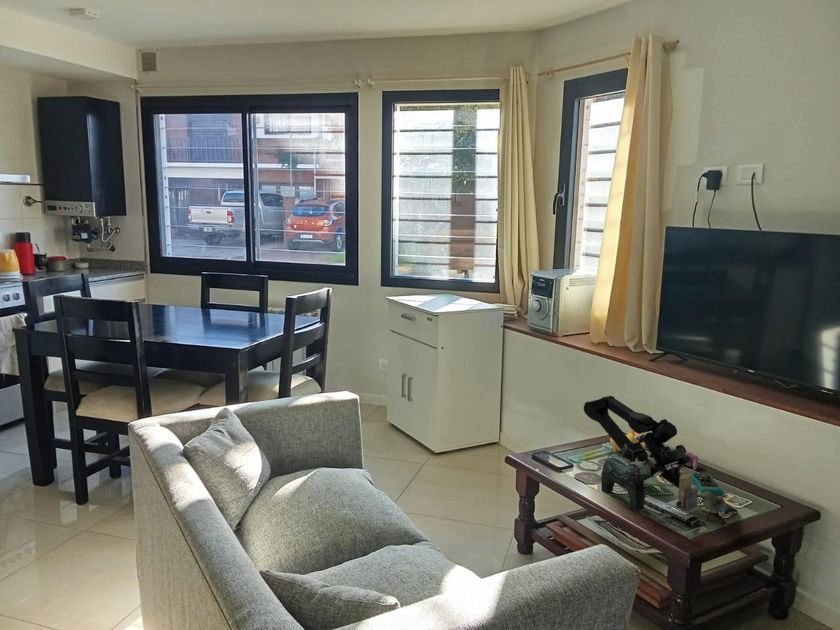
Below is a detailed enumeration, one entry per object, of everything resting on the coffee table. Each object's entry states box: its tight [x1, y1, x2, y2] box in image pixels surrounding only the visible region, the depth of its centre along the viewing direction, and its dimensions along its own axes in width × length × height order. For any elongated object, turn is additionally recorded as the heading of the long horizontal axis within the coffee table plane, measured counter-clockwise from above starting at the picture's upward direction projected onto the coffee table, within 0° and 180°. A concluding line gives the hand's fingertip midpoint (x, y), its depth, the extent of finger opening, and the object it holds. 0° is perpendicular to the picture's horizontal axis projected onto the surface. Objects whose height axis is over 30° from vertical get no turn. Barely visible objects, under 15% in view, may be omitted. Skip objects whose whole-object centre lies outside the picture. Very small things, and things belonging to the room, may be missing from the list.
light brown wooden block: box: [676, 474, 693, 506], centre depth 222 cm, size 2×6×10 cm, turn 122°
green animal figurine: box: [600, 449, 651, 512], centre depth 227 cm, size 20×6×20 cm, turn 26°
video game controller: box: [685, 451, 699, 471], centre depth 258 cm, size 10×5×7 cm, turn 58°
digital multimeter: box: [689, 472, 724, 497], centre depth 240 cm, size 7×15×3 cm, turn 175°
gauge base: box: [666, 486, 699, 514], centre depth 223 cm, size 7×7×8 cm
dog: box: [609, 429, 648, 453], centre depth 267 cm, size 8×20×13 cm, turn 28°
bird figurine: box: [694, 491, 739, 528], centre depth 214 cm, size 13×10×20 cm
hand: (681, 488), depth 223 cm, fingers closed
